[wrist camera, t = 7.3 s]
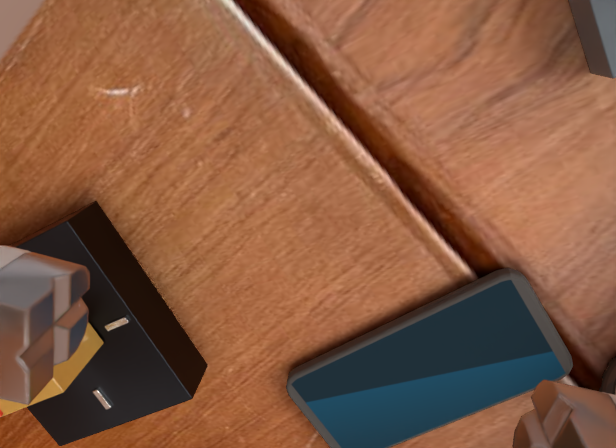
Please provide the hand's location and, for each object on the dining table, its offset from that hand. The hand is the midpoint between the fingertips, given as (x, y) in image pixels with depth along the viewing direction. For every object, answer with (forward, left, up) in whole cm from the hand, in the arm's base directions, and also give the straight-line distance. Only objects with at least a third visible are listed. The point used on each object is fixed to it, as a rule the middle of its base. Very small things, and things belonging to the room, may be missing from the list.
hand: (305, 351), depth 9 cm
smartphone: (+14, -2, -17) cm, 22 cm away
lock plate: (+3, -19, -17) cm, 26 cm away
